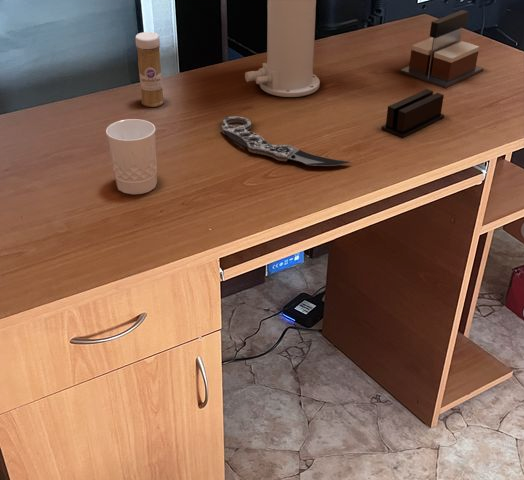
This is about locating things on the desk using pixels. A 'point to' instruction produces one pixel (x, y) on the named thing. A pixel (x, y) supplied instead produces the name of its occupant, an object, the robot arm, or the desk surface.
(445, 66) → the cake
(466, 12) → the plate
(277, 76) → the robot arm
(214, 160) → the desk surface
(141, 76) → the sprinkles bottle
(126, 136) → the white cup
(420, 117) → the stand
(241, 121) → the knife
